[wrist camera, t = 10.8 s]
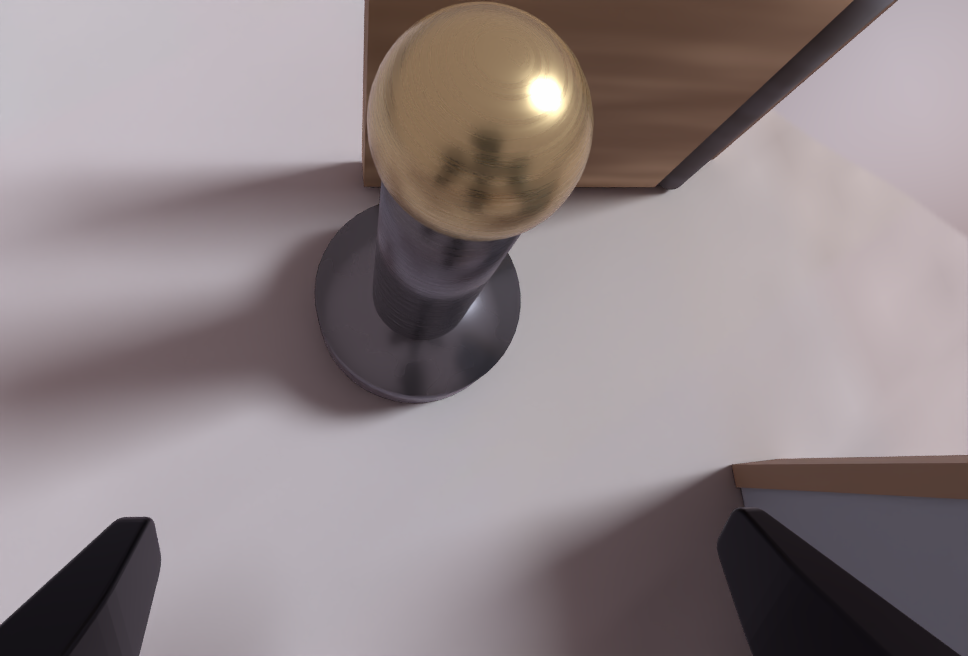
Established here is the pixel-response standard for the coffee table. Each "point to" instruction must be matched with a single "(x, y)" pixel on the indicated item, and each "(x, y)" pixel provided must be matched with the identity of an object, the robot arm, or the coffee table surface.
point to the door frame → (879, 518)
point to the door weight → (452, 198)
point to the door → (659, 71)
